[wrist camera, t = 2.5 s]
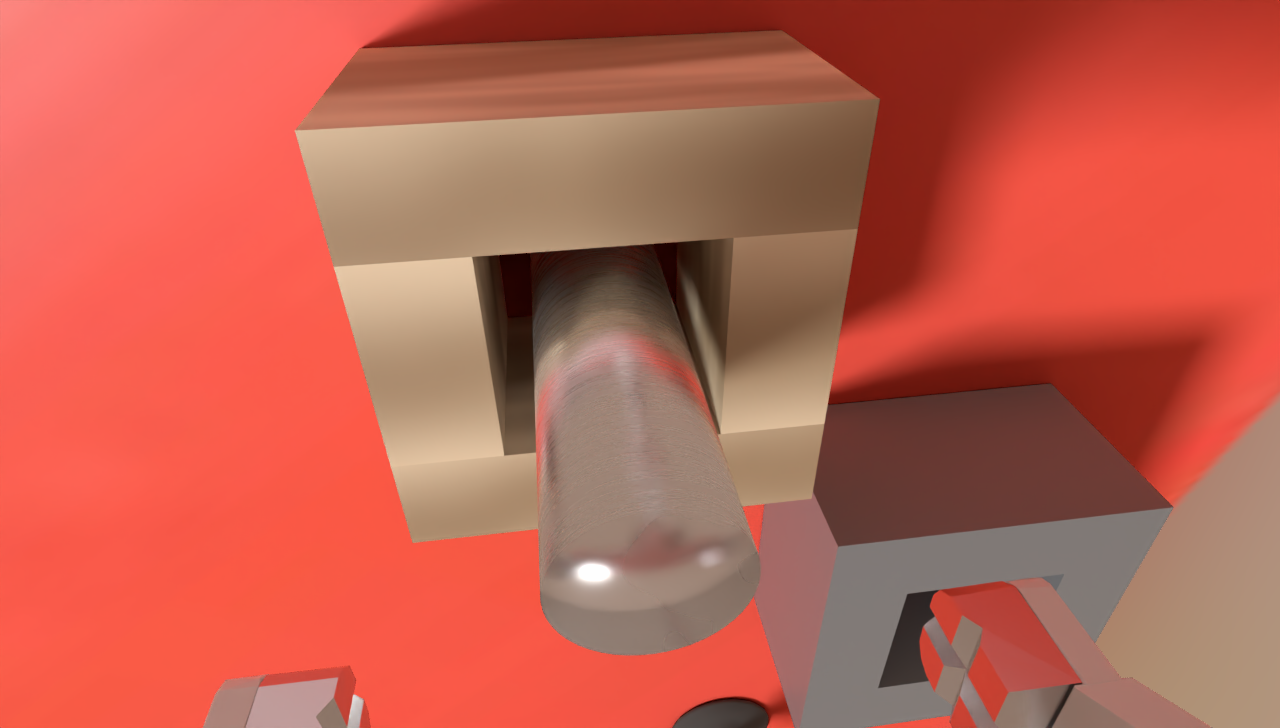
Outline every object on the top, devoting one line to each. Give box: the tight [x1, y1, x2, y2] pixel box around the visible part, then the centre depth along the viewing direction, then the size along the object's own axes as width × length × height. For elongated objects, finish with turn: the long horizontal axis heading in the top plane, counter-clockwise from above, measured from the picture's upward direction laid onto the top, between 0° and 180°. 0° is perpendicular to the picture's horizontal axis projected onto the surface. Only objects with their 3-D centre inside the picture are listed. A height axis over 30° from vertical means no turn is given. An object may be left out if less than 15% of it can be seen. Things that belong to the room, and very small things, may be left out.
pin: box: [530, 244, 761, 655], centre depth 15 cm, size 3×3×12 cm
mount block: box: [295, 30, 880, 543], centre depth 18 cm, size 10×10×6 cm
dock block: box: [754, 383, 1174, 728], centre depth 26 cm, size 10×10×6 cm
